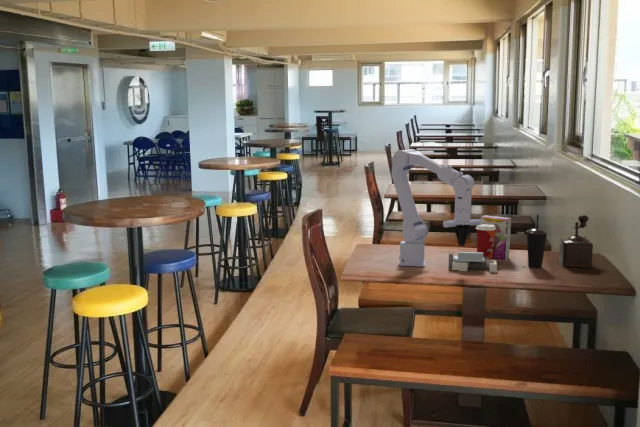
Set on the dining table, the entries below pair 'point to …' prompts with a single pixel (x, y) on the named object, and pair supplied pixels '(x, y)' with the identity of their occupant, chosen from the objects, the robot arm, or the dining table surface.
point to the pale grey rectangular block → (464, 264)
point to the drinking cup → (536, 246)
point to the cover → (469, 256)
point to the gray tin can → (478, 265)
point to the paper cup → (485, 239)
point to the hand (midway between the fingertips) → (461, 245)
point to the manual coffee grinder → (576, 248)
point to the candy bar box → (499, 235)
